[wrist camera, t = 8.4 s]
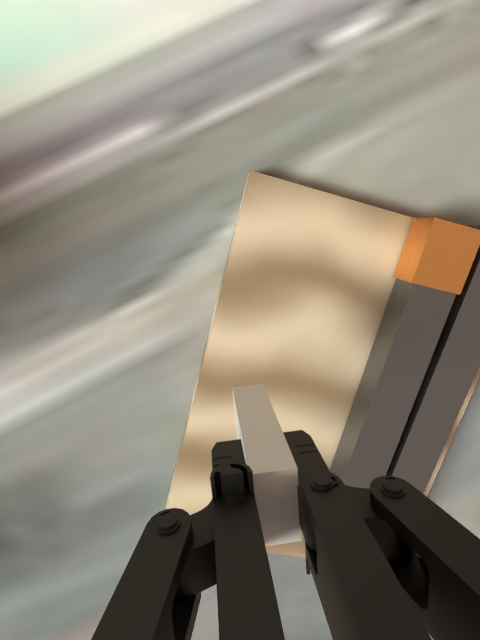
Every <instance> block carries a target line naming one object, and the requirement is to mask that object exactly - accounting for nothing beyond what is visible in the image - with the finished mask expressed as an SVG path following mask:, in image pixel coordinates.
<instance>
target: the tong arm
mask: <svg viewBox="0 0 480 640" xmlns="http://www.w3.org/2000/svg"><path fill="white" fill-rule="evenodd" d="M479 246H480V230H478V229H475V228H471V227H468V226H464V225H460V224H457V223H453V222H450V221H446V220H442V219H439V218H435V217H420V218H413V219H412V222H411V225H410V228H409V231H408V234H407V237H406V240H405V243H404V246H403V248H402V251H401V254H400V257H399V260H398V263H397V266H396V269H395V272H394V275H393V277H394V278H396V280H395V282H394V285H393V288H392V291H391V294H390V297H389V300H388V303H387V306H386V308H385V311H384V314H383V317H382V320H381V323H380V326H379V329H378V332H377V334H376V337H375V340H374V343H373V346H372V349H371V352H370V355H369V357H368V360H367V363H366V366H365V369H364V372H363V375H362V378H361V381H360V383H359V386H358V389H357V392H356V395H355V398H354V401H353V404H352V407H351V409H350V412H349V415H348V418H347V421H346V424H345V427H344V430H343V433H342V435H341V438H340V441H339V444H338V447H337V450H336V453H335V456H334V458H333V461H332V464H331V467H330V470H329V471H330V472H331V473H333V474H335V475H337V476H338V477H339V478H340V479H341V480H342V481H343V483H344V485H347V486H351V487H357V488H368V489H370V484H371V482H372V480H374V479H375V478H377V477H380V476H386V473H387V471H388V468H389V466H390V463H391V461H392V458H393V455H394V453H395V450H396V448H397V445H398V443H399V440H400V437H401V435H402V432H403V430H404V427H405V425H406V422H407V419H408V417H409V414H410V412H411V409H412V407H413V404H414V401H415V399H416V396H417V394H418V391H419V389H420V386H421V383H422V381H423V378H424V376H425V373H426V371H427V368H428V366H429V363H430V360H431V358H432V355H433V353H434V350H435V348H436V345H437V342H438V340H439V337H440V335H441V332H442V330H443V327H444V324H445V322H446V319H447V317H448V314H449V312H450V309H451V306H452V304H453V301H454V299H455V296H456V294H458V295H460V294H461V292H462V289H463V287H464V284H465V281H466V279H467V276H468V274H469V271H470V269H471V266H472V264H473V261H474V258H475V256H476V253H477V251H478V248H479Z"/></svg>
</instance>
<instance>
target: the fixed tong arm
mask: <svg viewBox="0 0 480 640" xmlns="http://www.w3.org/2000/svg"><path fill="white" fill-rule="evenodd" d="M469 227H471V228H475V229H478V230H480V226H469ZM479 366H480V246H479V248H478V251H477V253H476V256H475V258H474V261H473V264H472V266H471V269H470V271H469V274H468V276H467V279H466V281H465V284H464V287H463V289H462V292H461V294H460V295H458V294H456V296H455V299H454V301H453V304H452V306H451V309H450V312H449V314H448V317H447V319H446V322H445V324H444V327H443V330H442V332H441V335H440V337H439V340H438V342H437V345H436V348H435V350H434V353H433V355H432V358H431V360H430V363H429V366H428V368H427V371H426V373H425V376H424V378H423V381H422V383H421V386H420V389H419V391H418V394H417V396H416V399H415V401H414V404H413V407H412V409H411V412H410V414H409V417H408V419H407V422H406V425H405V427H404V430H403V432H402V435H401V437H400V440H399V443H398V445H397V448H396V450H395V453H394V455H393V458H392V461H391V463H390V466H389V468H388V471H387V473H386V476H395V477H398V478H401V479H403V480H405V481H407V482H408V483H410V484H411V485H413V486H414V487H415V488H416V489H418V490H419V491H420V492H421V493H423V494H424V492H425V490H426V487H427V485H428V483H429V480H430V478H431V476H432V474H433V471H434V469H435V467H436V464H437V462H438V460H439V458H440V455H441V453H442V451H443V448H444V446H445V444H446V442H447V439H448V437H449V435H450V432H451V430H452V428H453V426H454V423H455V421H456V419H457V416H458V414H459V412H460V410H461V407H462V405H463V403H464V400H465V398H466V396H467V394H468V391H469V389H470V387H471V384H472V382H473V380H474V378H475V375H476V373H477V371H478V368H479Z"/></svg>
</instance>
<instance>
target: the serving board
mask: <svg viewBox="0 0 480 640" xmlns="http://www.w3.org/2000/svg"><path fill="white" fill-rule="evenodd" d="M412 219H413V217H409V216H406V215H402V214H399V213H395V212H392V211H389V210H385V209H382V208H378V207H375V206H371V205H368V204H365V203H361V202H358V201H354V200H351V199H347V198H344V197H340V196H337V195H334V194H330V193H327V192H323V191H320V190H316V189H313V188H310V187H306V186H303V185H299V184H296V183H292V182H289V181H286V180H282V179H279V178H275V177H272V176H268V175H265V174H262V173H258V172H255V171H250V172H249V173H248V177H247V181H246V185H245V189H244V193H243V197H242V201H241V205H240V209H239V214H238V218H237V222H236V226H235V230H234V234H233V238H232V242H231V246H230V250H229V254H228V258H227V262H226V266H225V270H224V274H223V278H222V282H221V286H220V290H219V294H218V298H217V302H216V306H215V310H214V314H213V318H212V322H211V326H210V330H209V334H208V338H207V342H206V346H205V351H204V355H203V359H202V363H201V367H200V371H199V375H198V379H197V383H196V387H195V391H194V395H193V399H192V403H191V407H190V411H189V415H188V419H187V423H186V427H185V431H184V435H183V439H182V443H181V447H180V451H179V455H178V459H177V463H176V467H175V471H174V475H173V479H172V483H171V488H170V492H169V496H168V500H167V504H166V508H165V509H170V508H179V509H183V510H185V511H186V512H188V513H189V515H191V514H194V513H196V512H198V511H200V510H202V509H203V508H205V507H206V506H207V505H208V504H209V503H210V502H211V500H212V490H211V482H210V475H211V472H212V452H211V450H212V449H213V447H214V445H215V444H216V442H222V441H230V440H237V432H236V422H235V412H234V402H233V392H232V388H235V387H243V386H251V385H260V384H263V385H264V387H265V390H266V392H267V395H268V397H269V400H270V402H271V405H272V407H273V409H274V412H275V414H276V417H277V419H278V422H279V424H280V427H281V429H282V431H283V432H290V431H297V430H303V431H304V432H306V433H307V434H309V435H310V436H311V437H312V439H313V441H314V443H315V445H316V447H317V448H318V451H319V452H320V454H321V456H322V458H323V460H324V461H325V463H326V465H327V467H328V469H329V470H330V467H331V464H332V461H333V458H334V456H335V453H336V450H337V447H338V444H339V441H340V438H341V435H342V433H343V430H344V427H345V424H346V421H347V418H348V415H349V412H350V409H351V407H352V404H353V401H354V398H355V395H356V392H357V389H358V386H359V383H360V381H361V378H362V375H363V372H364V369H365V366H366V363H367V360H368V357H369V355H370V352H371V349H372V346H373V343H374V340H375V337H376V334H377V332H378V329H379V326H380V323H381V320H382V317H383V314H384V311H385V308H386V306H387V303H388V300H389V297H390V294H391V291H392V288H393V285H394V282H395V280H396V278H394V277H393V275H394V272H395V269H396V266H397V263H398V260H399V257H400V254H401V251H402V248H403V246H404V243H405V240H406V237H407V234H408V231H409V228H410V225H411V222H412ZM479 378H480V366H479V368H478V371H477V373H476V375H475V378H474V380H473V382H472V384H471V387H470V389H469V391H468V394H467V396H466V398H465V400H464V403H463V405H462V407H461V410H460V412H459V414H458V416H457V419H456V421H455V423H454V426H453V428H452V430H451V432H450V435H449V437H448V439H447V442H446V444H445V446H444V448H443V451H442V453H441V455H440V458H439V460H438V462H437V464H436V467H435V469H434V471H433V474H432V476H431V478H430V480H429V483H428V485H427V487H426V490H425V492H424V495H425V496H426V497H427V496H428V494H429V491H430V489H431V487H432V485H433V482H434V480H435V478H436V475H437V473H438V471H439V469H440V466H441V464H442V462H443V460H444V457H445V455H446V453H447V451H448V448H449V446H450V444H451V441H452V439H453V437H454V435H455V432H456V430H457V428H458V426H459V423H460V421H461V419H462V417H463V414H464V412H465V410H466V407H467V405H468V403H469V401H470V398H471V396H472V394H473V392H474V389H475V387H476V385H477V382H478V380H479ZM301 539H302V541H298V542H292V543H285V544H279V545H273V546H266V552H267V553H275V554H282V555H289V556H297V557H304V558H306V553H305V539H304V536H303V533H302V530H301Z"/></svg>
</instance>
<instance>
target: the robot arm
mask: <svg viewBox="0 0 480 640" xmlns="http://www.w3.org/2000/svg"><path fill="white" fill-rule="evenodd" d="M232 392H233V402H234V412H235V422H236V432H237V440H230V441H222V442H216V444H215V445H214V447H213V449H212V450H211V452H212V472H211V475H210V482H211V490H212V500H211V502H210V503H209V504H208V505H207V506H206V507H205V508H203V509H202V510H200V511H198V512H196V513H194V514H191V515H189V513H188V512H186V511H185V510H183V509H179V508H170V509H165V510H163V511H160V512H158V513H157V514H156V515H154V516H153V517H152V518H151V519H150V521H149V522H148V523H147V525H146V527H145V529H144V531H143V533H142V536H141V538H140V540H139V542H138V544H137V546H136V548H135V550H134V552H133V554H132V556H131V558H130V560H129V562H128V565H127V567H126V569H125V571H124V573H123V575H122V577H121V579H120V581H119V583H118V585H117V587H116V589H115V591H114V594H113V596H112V598H111V600H110V602H109V604H108V606H107V608H106V610H105V612H104V614H103V616H102V618H101V620H100V623H99V625H98V627H97V629H96V631H95V633H94V635H93V637H92V639H91V640H191V636H192V632H193V628H194V624H195V619H196V615H197V611H198V607H199V603H200V599H201V591H203V590H205V589H207V588H209V587H211V586H213V585H215V584H217V599H218V620H219V640H285V638H284V633H283V628H282V624H281V619H280V614H279V609H278V604H277V600H276V595H275V590H274V585H273V581H272V576H271V571H270V566H269V561H268V557H267V552H266V546H273V545H279V544H285V543H292V542H298V541H302V539H301V530H302V533H303V536H304V539H305V553H306V570H307V574H310V569H311V572H312V575H313V579H314V582H315V585H316V588H317V591H318V594H319V597H320V600H321V603H322V607H323V610H324V613H325V616H326V619H327V622H328V625H329V628H330V631H331V635H332V638H333V640H432V639H431V638H430V636H429V634H430V635H431V637H432V638H433V639H434V640H480V539H479V538H478V537H476V536H475V535H474V534H473V533H471V532H470V531H469V530H468V529H466V528H465V527H464V526H463V525H461V524H460V523H459V522H458V521H456V520H455V519H454V518H453V517H451V516H450V515H449V514H448V513H446V512H445V511H444V510H443V509H441V508H440V507H439V506H438V505H436V504H435V503H434V502H433V501H431V500H430V499H429V498H428V497H426V496H425V495H424V494H423V493H421V492H420V491H419V490H418V489H416V488H415V487H414V486H413V485H411V484H410V483H408V482H407V481H405V480H403V479H401V478H398V477H395V476H380V477H377V478H375V479H374V480H372V482H371V484H370V489H368V488H357V487H351V486H347V485H344V483H343V481H342V480H341V479H340V478H339V477H338V476H337V475H335V474H333V473H331V472H330V471H329V469H328V467H327V465H326V463H325V461H324V460H323V458H322V456H321V454H320V452H319V451H318V448H317V447H316V445H315V443H314V441H313V439H312V437H311V436H310V435H309V434H307V433H306V432H304V431H303V430H297V431H290V432H283V431H282V429H281V427H280V424H279V422H278V419H277V417H276V414H275V412H274V409H273V407H272V405H271V402H270V400H269V397H268V395H267V392H266V390H265V387H264V385H263V384H260V385H251V386H243V387H235V388H232ZM428 633H429V634H428Z"/></svg>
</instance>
